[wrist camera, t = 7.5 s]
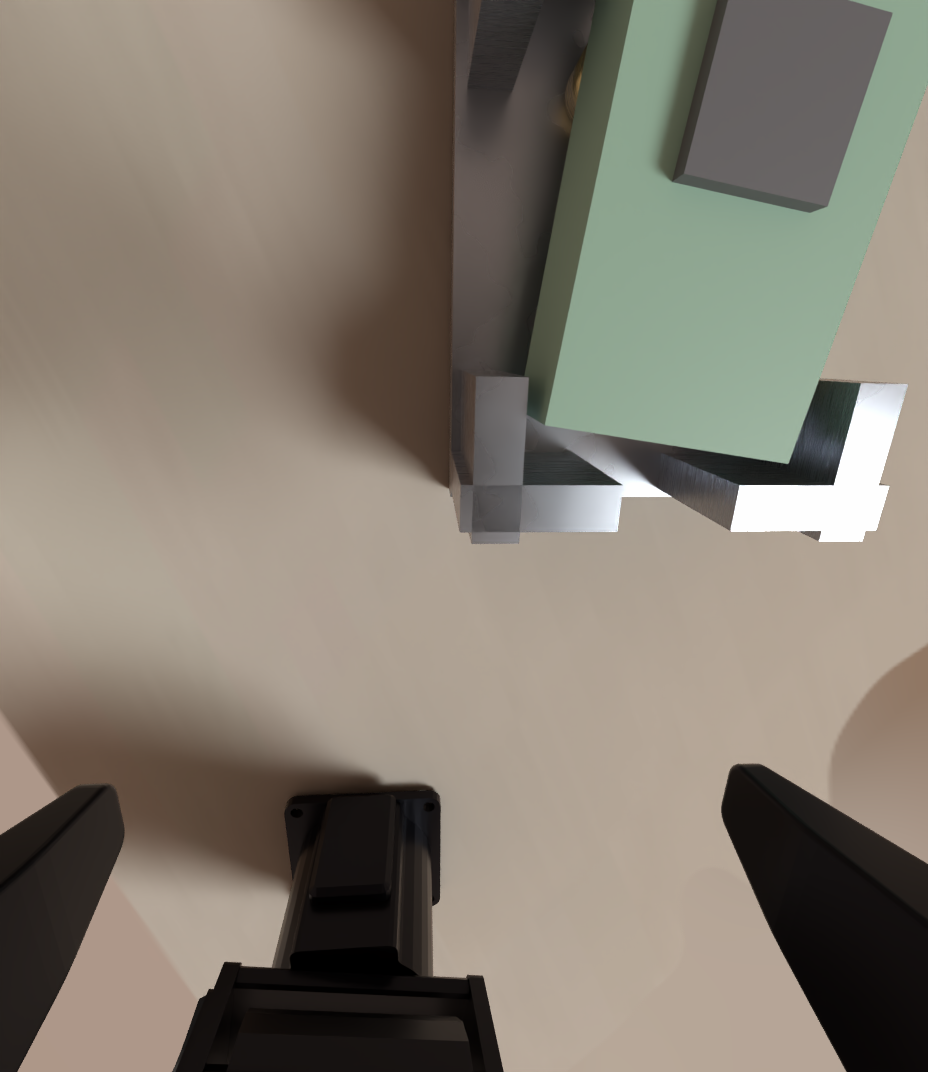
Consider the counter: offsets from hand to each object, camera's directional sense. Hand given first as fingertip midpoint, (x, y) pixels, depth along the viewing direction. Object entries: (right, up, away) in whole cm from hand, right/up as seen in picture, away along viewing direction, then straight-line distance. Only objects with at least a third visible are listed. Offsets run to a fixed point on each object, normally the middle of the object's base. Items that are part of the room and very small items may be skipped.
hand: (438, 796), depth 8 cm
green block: (+6, +12, +6) cm, 14 cm away
